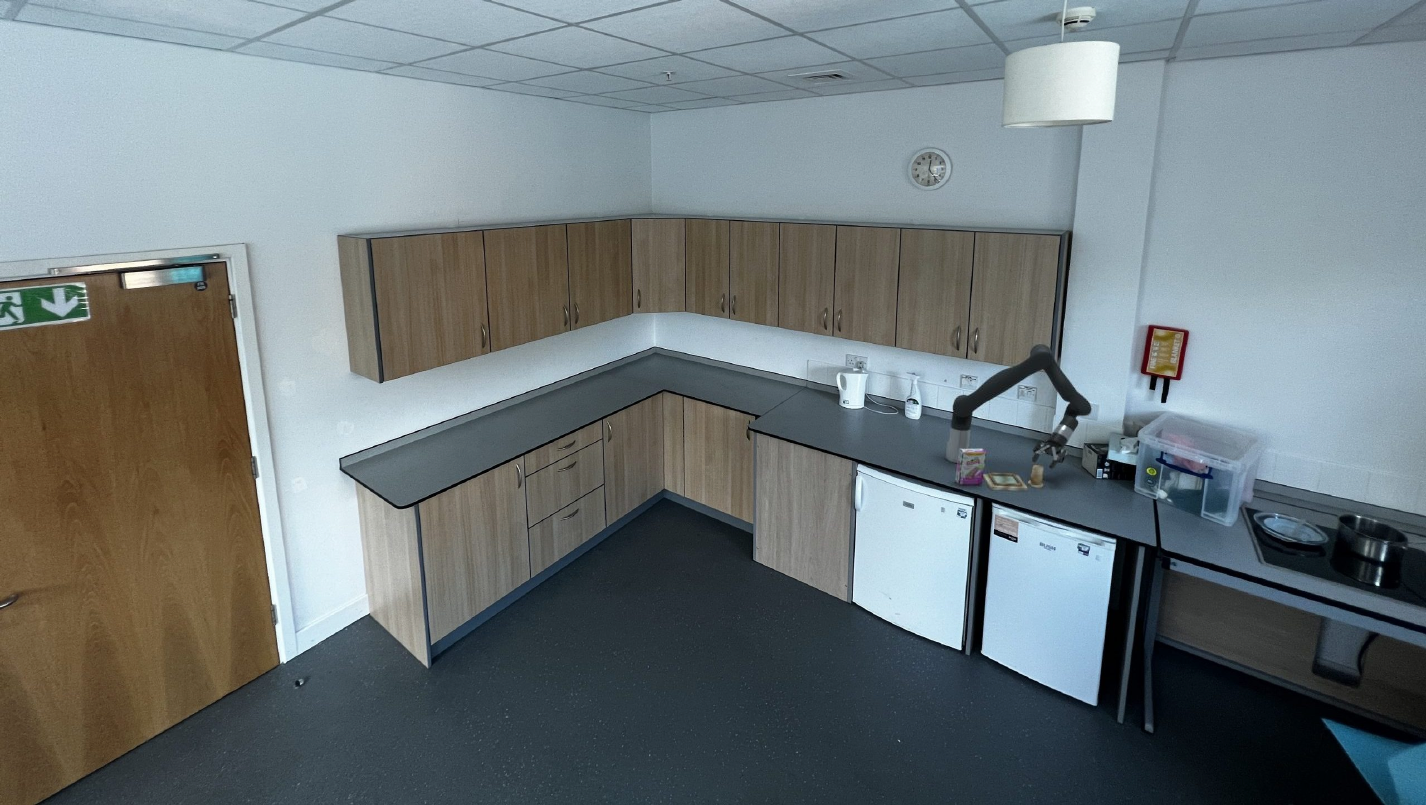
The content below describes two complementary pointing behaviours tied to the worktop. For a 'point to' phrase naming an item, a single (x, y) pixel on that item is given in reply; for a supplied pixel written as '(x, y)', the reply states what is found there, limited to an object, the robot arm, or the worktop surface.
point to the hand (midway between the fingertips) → (1041, 464)
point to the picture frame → (1004, 481)
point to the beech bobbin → (1036, 477)
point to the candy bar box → (970, 466)
